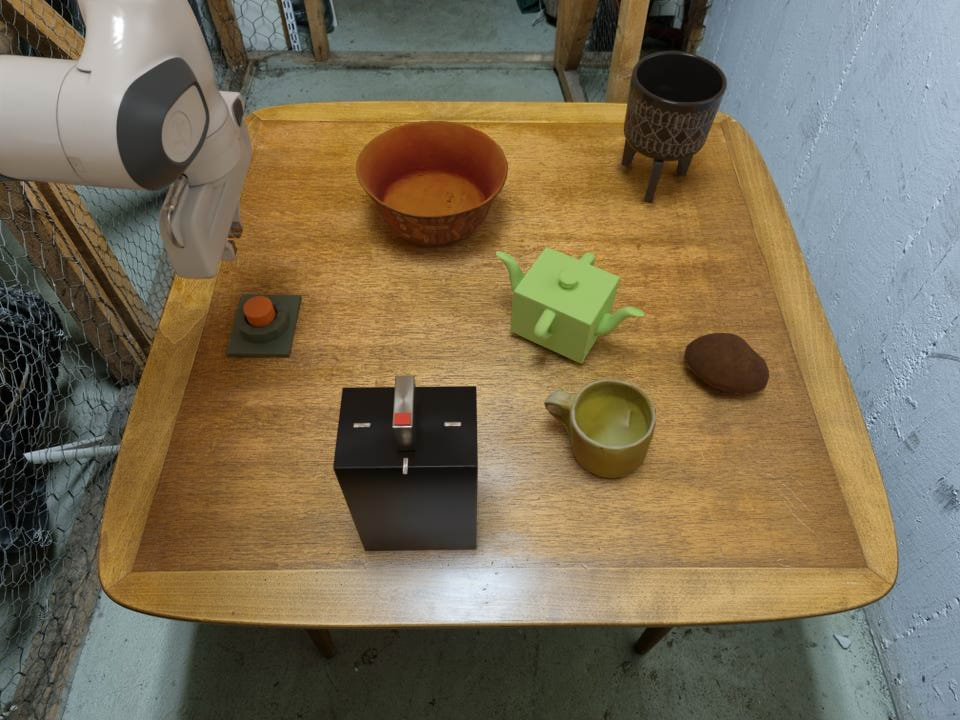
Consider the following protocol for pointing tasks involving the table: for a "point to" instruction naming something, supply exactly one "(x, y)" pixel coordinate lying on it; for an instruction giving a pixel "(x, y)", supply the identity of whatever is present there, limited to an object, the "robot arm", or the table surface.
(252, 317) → the button
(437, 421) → the black lever box
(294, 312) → the housing
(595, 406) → the mug
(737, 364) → the potato
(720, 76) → the planter
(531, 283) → the teapot
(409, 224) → the bowl
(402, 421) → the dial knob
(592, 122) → the table surface
